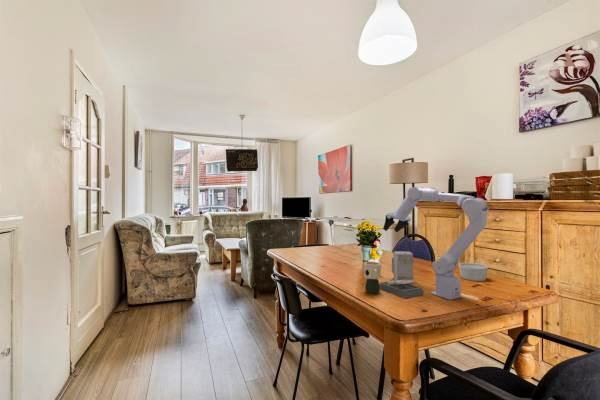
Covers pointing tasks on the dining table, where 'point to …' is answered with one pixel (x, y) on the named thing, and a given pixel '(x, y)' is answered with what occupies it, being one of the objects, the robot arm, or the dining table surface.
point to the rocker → (400, 282)
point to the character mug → (372, 276)
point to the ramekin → (473, 271)
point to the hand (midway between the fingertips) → (390, 230)
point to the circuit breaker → (403, 266)
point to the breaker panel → (402, 289)
